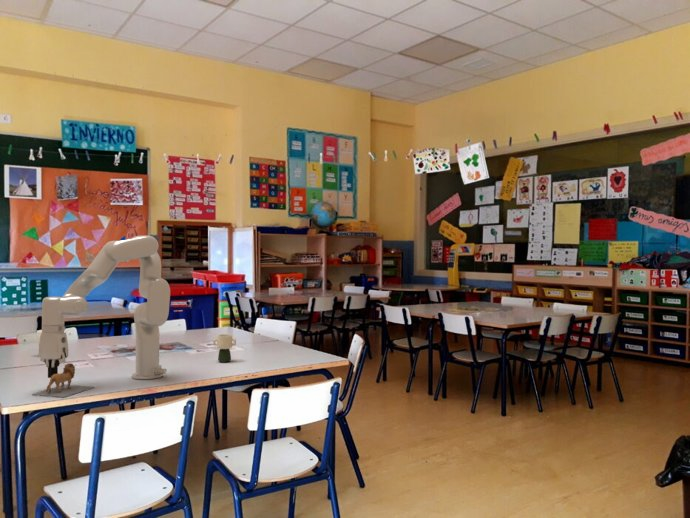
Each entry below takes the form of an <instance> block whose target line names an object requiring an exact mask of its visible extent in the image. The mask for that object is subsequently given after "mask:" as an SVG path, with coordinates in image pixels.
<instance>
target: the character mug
mask: <svg viewBox="0 0 690 518" xmlns="http://www.w3.org/2000/svg"><path fill="white" fill-rule="evenodd" d="M212 341H213V346H217V347H216V348H217V349H219V351H218V356H217V357H218V358H217V361H219V362H221V363H223V362H224V363H225V362H227V363H228V362H229V361H232V355H231V350H230V349H231V348H232V347H233V346H237V338H233V335H232V334H230V333H222V334H217V337H216V338H213V340H212ZM216 341H217V342H216Z"/></svg>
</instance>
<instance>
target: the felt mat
mask: <svg viewBox="0 0 690 518" xmlns="http://www.w3.org/2000/svg"><path fill="white" fill-rule="evenodd" d="M67 386H68V383H67V384H65V383H64V387H63V388H61V385H59V390H61V392H58V391H57V390H56V386H54V387H51V392H50V393H48V392H46V389H44V390H41V391H39V392H35V393H32V394H31V395H32V396H37V395H40V396H39V397H48V396H52V397H51V398H59V397H61V398H60V399H64V398H68V397H71V396H73V395H76V394H79V393H82V392H86V391H88V390H91V389H94V388H95V386H88V385H79V384H70V387H71V388H67Z"/></svg>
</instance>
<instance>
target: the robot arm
mask: <svg viewBox="0 0 690 518" xmlns="http://www.w3.org/2000/svg"><path fill="white" fill-rule="evenodd" d="M159 247H160V245H159V241H158V240H157V238H155V237H154V236H152V235H136V236H133V237H132V238H128V239H121V240H111V241H107V242H106V243H105V244H104V245H103V246H102V248H101V249H100V251H99V252H98V253H97V254H96V256H95V257H94V259H93V260H92V261H91V263H90V264H89V265H88V267H87V268H86V269H85V270H84V271H83V272H82V273H81V274H80V275H79V276H78V277H77V278H76V279H75V280H74V281H73V282H72V283H71V284H70V286H68V289H67V290H66V291H65V293H64V294H63V295H62V296H46V297H44V298H43V299H42V303H41V304H42V305H41V307H42V309H41V312H42V313H41V314H42V316H41V330H42V333H41V336H40V342H39V345H38V357H39V358H40V359H39V360H40V362H42V363H45V365H46V368H47V378H48V379H51V376H52V375H54V374H59V373H58V367H60V364H62V363H66V359H67V358H68V357H69V343H68V342H69V341H68V336H67V333H66V332H65V331H66V326H65V316H81V315H84V314H85V312H86V311H87V310H88V309H89V303H88V301H87V300H86V297H87V296H88V295H89V294H90V293H91V292H92V291H93V290H94V289H96V288H97V287H99V286H101V285H102V284H104V283H105V282H106V281H107V280H108V279H109V277H110V276H111V275H112V273H113V271H114V270H115V269H116V267H117V266H118V264H120V263H121V262H122V263H123V262H129V261H134V260H138V261H139V265H140V272H139V284H138V293H139V295H140V296H141V297H142V298H143V299H146V302H142V303H139V304H138V305H137V306H136V308H135V309H134V313H133V318H134V319H133V320H134V326H135V372H134V373H132V374H131V378H132V379H135V380H153V379H158V378H161V377H163V376H164V375H166V373H167V368H162V365H161V364H160V327H161V326H163V325H164V324H165V323H166V322H167V320H168V317H169V312H170V300H171V287H170V285H169V284H170V283H168V281H167V280H166V279H164V278H162V261H161V257H160V254H159V253H158V251H159Z"/></svg>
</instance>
